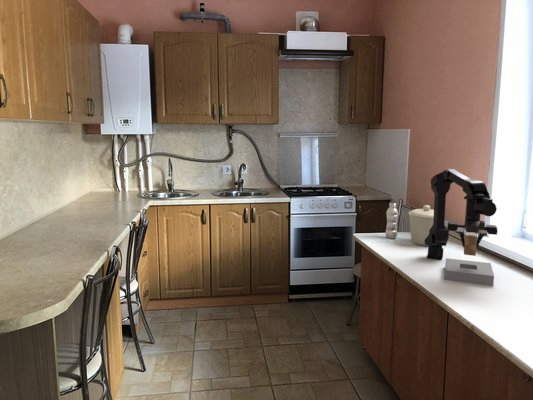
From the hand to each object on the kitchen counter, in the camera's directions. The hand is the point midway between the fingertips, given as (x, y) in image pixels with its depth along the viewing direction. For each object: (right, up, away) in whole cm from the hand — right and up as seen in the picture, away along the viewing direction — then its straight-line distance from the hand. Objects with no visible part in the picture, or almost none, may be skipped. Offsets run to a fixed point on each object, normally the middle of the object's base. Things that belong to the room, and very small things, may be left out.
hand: (470, 247), depth 185 cm
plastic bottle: (-15, -2, +64) cm, 66 cm away
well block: (0, -12, +2) cm, 12 cm away
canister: (0, -4, +52) cm, 52 cm away
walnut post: (0, -3, 0) cm, 2 cm away
